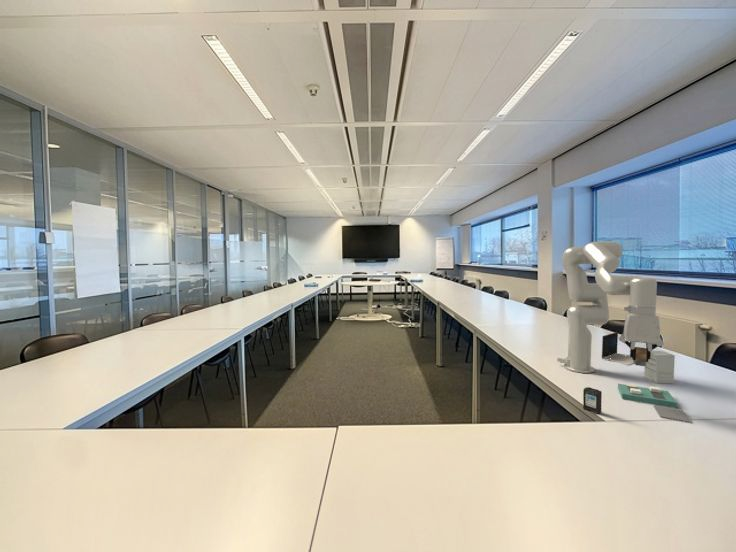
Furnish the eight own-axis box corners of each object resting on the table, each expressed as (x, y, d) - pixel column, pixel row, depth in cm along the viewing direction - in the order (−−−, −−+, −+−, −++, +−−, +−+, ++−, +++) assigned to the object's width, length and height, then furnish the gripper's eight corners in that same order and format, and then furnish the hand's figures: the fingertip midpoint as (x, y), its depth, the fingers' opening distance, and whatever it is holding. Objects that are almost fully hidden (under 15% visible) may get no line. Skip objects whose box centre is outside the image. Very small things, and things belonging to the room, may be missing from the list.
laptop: (629, 366, 168) (630, 340, 167) (601, 359, 179) (602, 335, 178) (643, 360, 177) (644, 336, 177) (616, 354, 188) (617, 331, 187)
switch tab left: (631, 393, 128) (631, 390, 128) (630, 391, 131) (630, 388, 130) (641, 394, 127) (641, 391, 127) (639, 392, 129) (640, 389, 129)
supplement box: (660, 377, 151) (662, 350, 150) (674, 383, 144) (675, 355, 143) (643, 377, 152) (644, 349, 151) (655, 383, 144) (657, 354, 144)
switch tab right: (651, 391, 130) (651, 388, 130) (649, 389, 132) (649, 386, 132) (660, 392, 129) (661, 389, 129) (659, 390, 131) (659, 387, 131)
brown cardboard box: (635, 365, 122) (636, 349, 122) (633, 362, 126) (634, 346, 125) (646, 366, 121) (646, 350, 120) (643, 363, 124) (644, 347, 124)
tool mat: (660, 417, 114) (660, 416, 114) (653, 405, 122) (653, 404, 122) (691, 423, 110) (692, 421, 110) (682, 410, 118) (682, 409, 118)
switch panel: (622, 398, 129) (622, 393, 128) (617, 388, 139) (617, 383, 139) (677, 408, 120) (677, 402, 120) (667, 396, 131) (668, 391, 131)
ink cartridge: (583, 409, 120) (583, 387, 120) (586, 407, 121) (586, 386, 121) (598, 414, 116) (598, 392, 116) (601, 412, 117) (601, 390, 117)
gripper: (616, 310, 123) (614, 359, 124) (674, 314, 114) (671, 366, 116) (613, 308, 129) (611, 354, 130) (668, 311, 121) (666, 360, 122)
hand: (639, 359), depth 123 cm, fingers closed on brown cardboard box, 3 cm apart
